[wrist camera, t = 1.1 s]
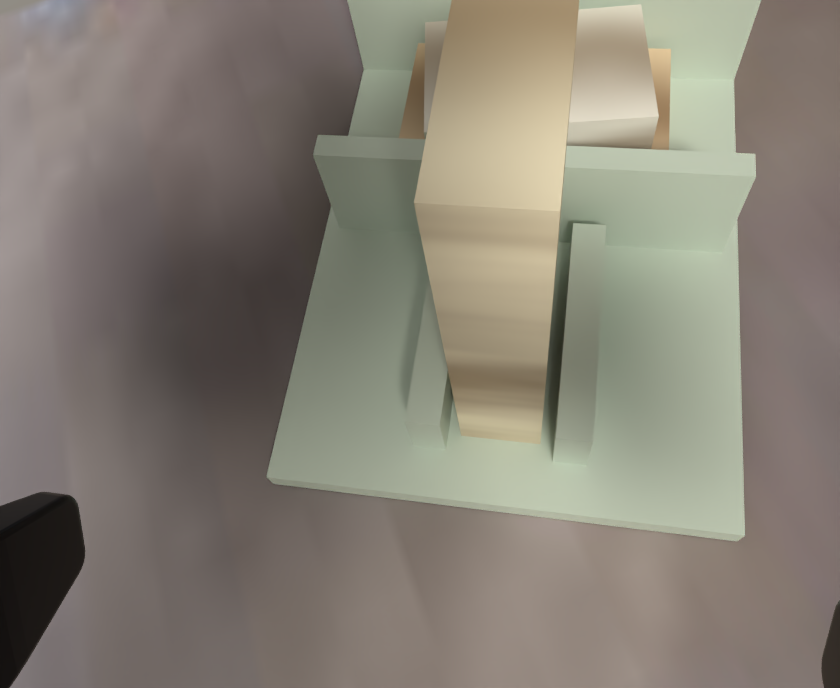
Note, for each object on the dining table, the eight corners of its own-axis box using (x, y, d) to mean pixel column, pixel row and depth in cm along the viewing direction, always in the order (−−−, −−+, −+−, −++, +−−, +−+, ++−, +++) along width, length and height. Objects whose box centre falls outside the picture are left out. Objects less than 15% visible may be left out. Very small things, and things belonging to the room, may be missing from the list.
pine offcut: (659, 211, 26) (668, 178, 25) (400, 196, 28) (393, 165, 26) (662, 86, 28) (671, 48, 27) (423, 79, 30) (418, 43, 28)
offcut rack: (737, 541, 22) (821, 476, 16) (273, 483, 24) (192, 407, 18) (728, 79, 29) (783, -87, 23) (370, 69, 32) (335, -85, 25)
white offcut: (649, 154, 25) (659, 116, 23) (429, 168, 26) (423, 132, 24) (633, 46, 27) (641, 4, 25) (430, 62, 28) (425, 22, 26)
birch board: (540, 444, 23) (560, 211, 12) (461, 435, 24) (413, 203, 13) (555, 272, 26) (583, -47, 15) (483, 267, 26) (460, -47, 15)
